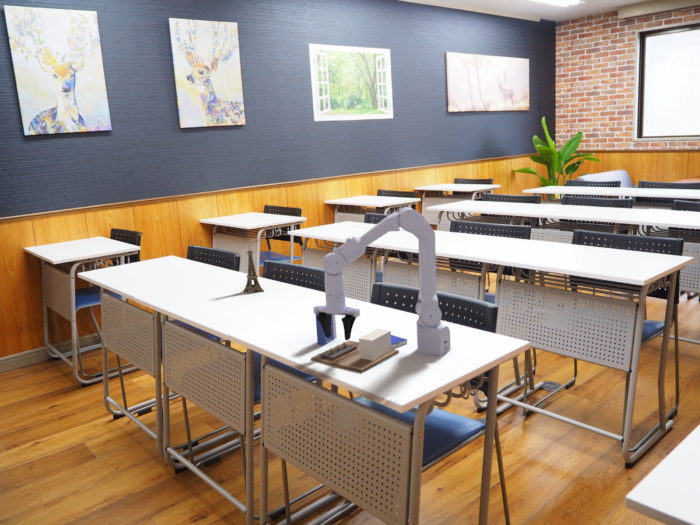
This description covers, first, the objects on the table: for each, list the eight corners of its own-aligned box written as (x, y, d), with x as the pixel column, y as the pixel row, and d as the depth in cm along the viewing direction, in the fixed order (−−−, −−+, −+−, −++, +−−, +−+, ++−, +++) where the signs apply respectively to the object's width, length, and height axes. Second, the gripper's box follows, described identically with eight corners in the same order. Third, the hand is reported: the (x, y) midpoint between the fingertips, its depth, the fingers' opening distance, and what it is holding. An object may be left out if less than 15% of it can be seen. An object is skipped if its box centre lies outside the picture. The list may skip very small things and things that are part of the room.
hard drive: (361, 337, 182) (388, 345, 173) (379, 330, 187) (407, 338, 178) (361, 341, 183) (388, 350, 173) (379, 335, 188) (407, 343, 178)
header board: (398, 352, 171) (398, 342, 170) (362, 372, 157) (361, 361, 156) (349, 342, 182) (348, 332, 182) (311, 360, 169) (310, 349, 168)
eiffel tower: (260, 293, 257) (256, 238, 252) (270, 298, 248) (265, 241, 243) (238, 297, 251) (233, 241, 247) (246, 302, 242) (241, 244, 238)
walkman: (325, 346, 180) (322, 309, 178) (317, 345, 181) (315, 309, 179) (337, 339, 187) (335, 303, 185) (330, 338, 188) (327, 302, 186)
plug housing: (391, 350, 171) (390, 330, 170) (373, 360, 163) (372, 340, 162) (378, 347, 174) (377, 328, 172) (360, 358, 166) (358, 338, 165)
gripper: (363, 291, 167) (365, 336, 170) (320, 289, 174) (323, 331, 177) (352, 297, 161) (355, 343, 164) (308, 294, 168) (311, 338, 170)
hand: (338, 338), depth 170 cm, fingers open, 6 cm apart
